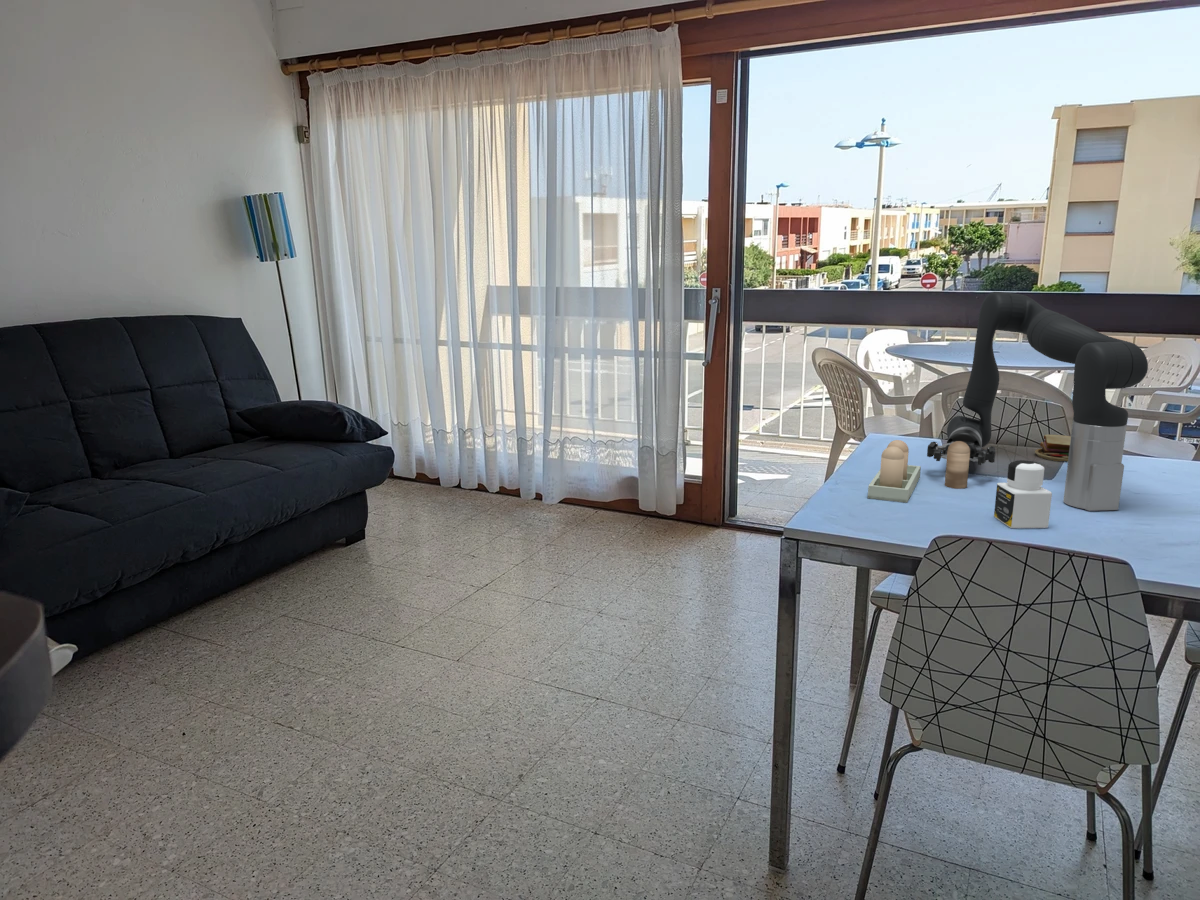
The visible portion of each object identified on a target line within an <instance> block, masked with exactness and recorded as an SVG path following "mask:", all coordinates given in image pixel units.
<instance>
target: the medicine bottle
mask: <svg viewBox="0 0 1200 900" xmlns="http://www.w3.org/2000/svg"><path fill="white" fill-rule="evenodd" d="M1044 475H1045V466H1044V465H1043V464H1042V463H1040V462H1037V461H1034V460H1033V461H1032V460H1025V459H1023V460H1022V459H1020V460H1019V459H1018V460H1014V461H1010V462H1009V463H1008V469H1007V475H1006V482H997V484H996V491H995V492H996V493H995V501H994V511H993V517H994V518H995V519H996V520H997V521H1000V523H1002V524H1003V525H1005V526H1007V527H1008V528H1010V529H1048V528H1049V523H1050V516H1051V507H1052V497H1053V493H1052V491H1050V490H1048V489H1046V488H1044V487H1042V486H1043V484H1044V477H1045V476H1044Z"/></svg>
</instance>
